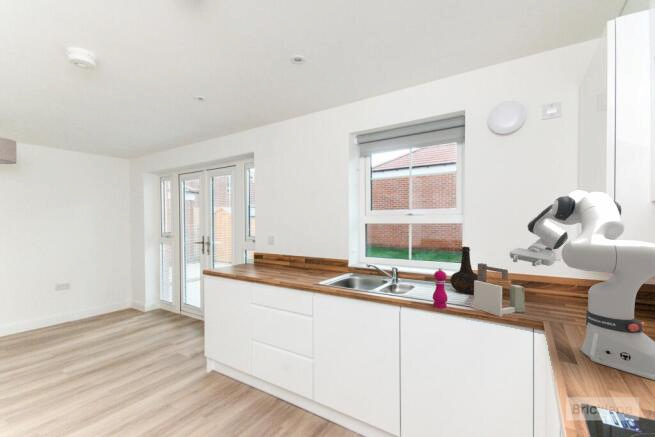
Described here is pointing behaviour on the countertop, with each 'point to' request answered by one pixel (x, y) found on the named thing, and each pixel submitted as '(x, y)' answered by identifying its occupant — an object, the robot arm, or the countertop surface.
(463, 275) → the glass bottle
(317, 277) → the countertop surface
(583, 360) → the countertop surface
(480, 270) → the grey brown arch frame
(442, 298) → the pepper mill
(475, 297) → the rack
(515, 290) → the skincare box
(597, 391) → the countertop surface
